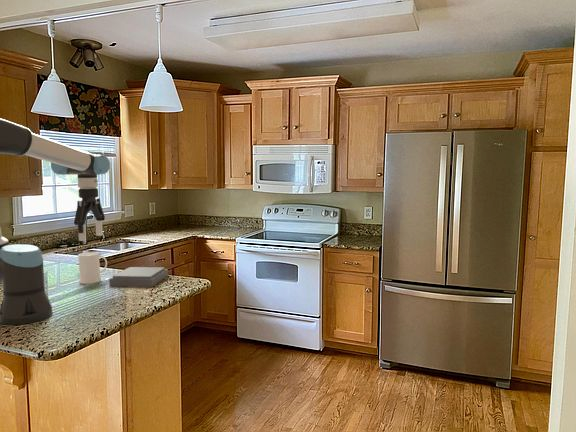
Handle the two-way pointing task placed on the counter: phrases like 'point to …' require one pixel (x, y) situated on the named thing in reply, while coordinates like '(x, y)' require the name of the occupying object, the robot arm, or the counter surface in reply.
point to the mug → (90, 267)
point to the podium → (139, 276)
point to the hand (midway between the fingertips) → (91, 238)
